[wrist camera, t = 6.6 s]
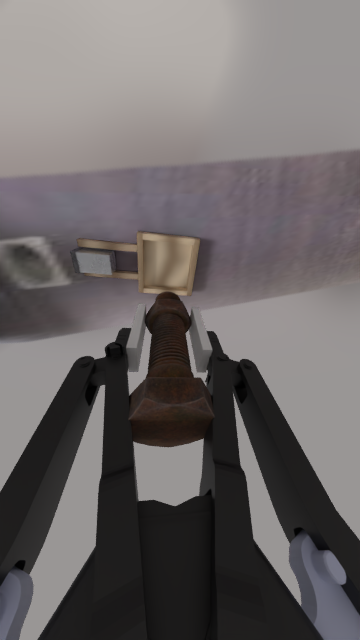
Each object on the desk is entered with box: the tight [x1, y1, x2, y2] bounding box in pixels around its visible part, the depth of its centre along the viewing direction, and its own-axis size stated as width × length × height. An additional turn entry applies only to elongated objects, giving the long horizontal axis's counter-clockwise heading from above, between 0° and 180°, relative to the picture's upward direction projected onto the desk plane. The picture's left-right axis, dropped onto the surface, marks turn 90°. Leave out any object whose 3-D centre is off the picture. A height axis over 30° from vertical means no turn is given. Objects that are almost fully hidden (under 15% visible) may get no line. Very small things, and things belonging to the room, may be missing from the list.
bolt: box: [128, 291, 215, 447], centre depth 15 cm, size 6×5×15 cm
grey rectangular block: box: [70, 247, 116, 275], centre depth 31 cm, size 6×4×4 cm, turn 84°
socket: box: [77, 231, 200, 296], centre depth 33 cm, size 22×12×2 cm, turn 84°
